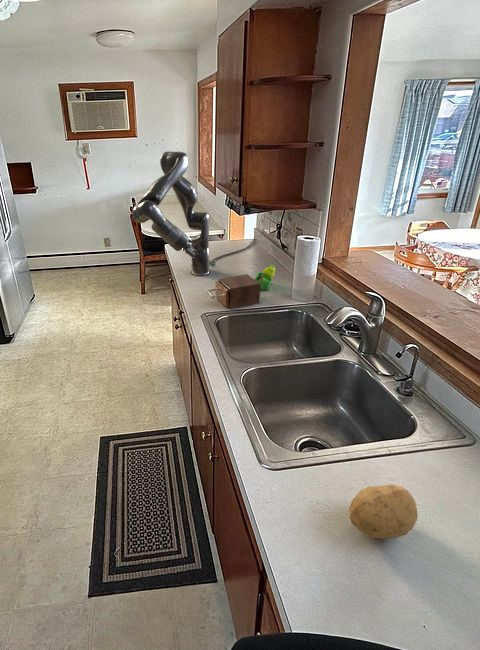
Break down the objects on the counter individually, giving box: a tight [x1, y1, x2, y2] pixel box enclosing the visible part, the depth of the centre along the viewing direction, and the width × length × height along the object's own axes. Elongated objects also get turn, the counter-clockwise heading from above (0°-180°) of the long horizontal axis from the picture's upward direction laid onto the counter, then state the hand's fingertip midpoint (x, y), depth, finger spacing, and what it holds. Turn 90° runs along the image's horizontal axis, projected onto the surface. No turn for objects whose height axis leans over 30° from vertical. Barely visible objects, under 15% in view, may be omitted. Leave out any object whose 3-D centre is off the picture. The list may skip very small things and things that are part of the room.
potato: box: [348, 483, 419, 539], centre depth 78 cm, size 10×14×8 cm
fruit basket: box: [254, 264, 276, 291], centre depth 190 cm, size 11×9×11 cm
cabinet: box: [218, 273, 261, 309], centre depth 178 cm, size 15×13×10 cm
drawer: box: [204, 280, 229, 308], centre depth 176 cm, size 19×11×8 cm, turn 108°
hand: (203, 261), depth 166 cm, fingers closed
